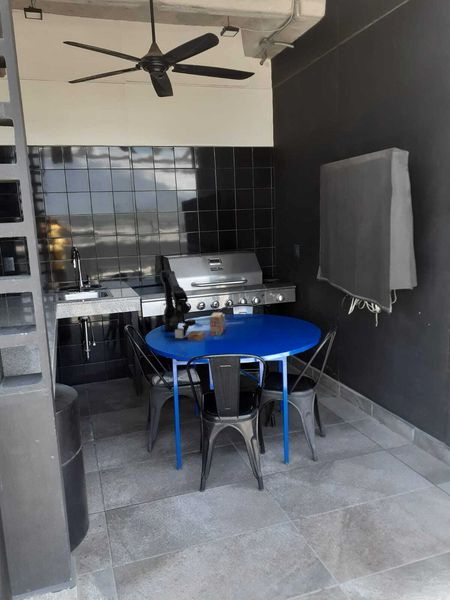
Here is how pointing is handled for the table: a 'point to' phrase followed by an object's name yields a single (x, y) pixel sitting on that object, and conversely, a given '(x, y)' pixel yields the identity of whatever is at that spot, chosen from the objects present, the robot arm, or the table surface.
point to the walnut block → (196, 335)
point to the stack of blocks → (217, 324)
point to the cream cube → (179, 333)
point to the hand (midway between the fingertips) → (180, 335)
